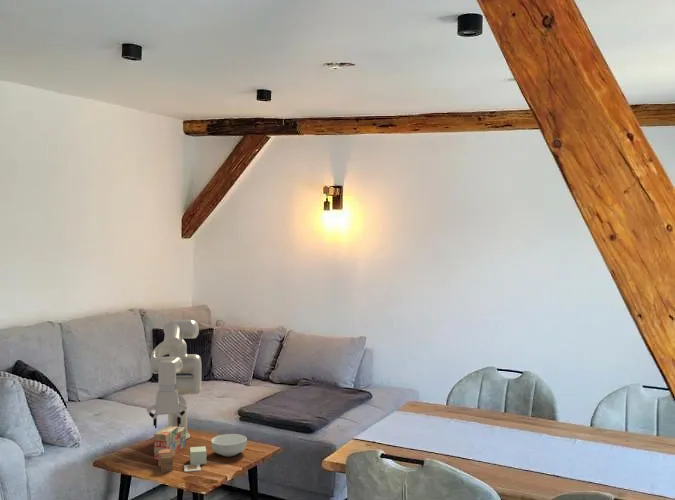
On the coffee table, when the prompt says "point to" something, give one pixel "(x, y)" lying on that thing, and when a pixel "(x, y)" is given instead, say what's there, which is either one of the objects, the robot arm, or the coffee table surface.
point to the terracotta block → (162, 451)
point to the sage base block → (197, 455)
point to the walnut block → (166, 462)
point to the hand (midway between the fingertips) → (167, 426)
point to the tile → (192, 468)
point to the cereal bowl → (229, 444)
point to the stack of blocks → (169, 439)
